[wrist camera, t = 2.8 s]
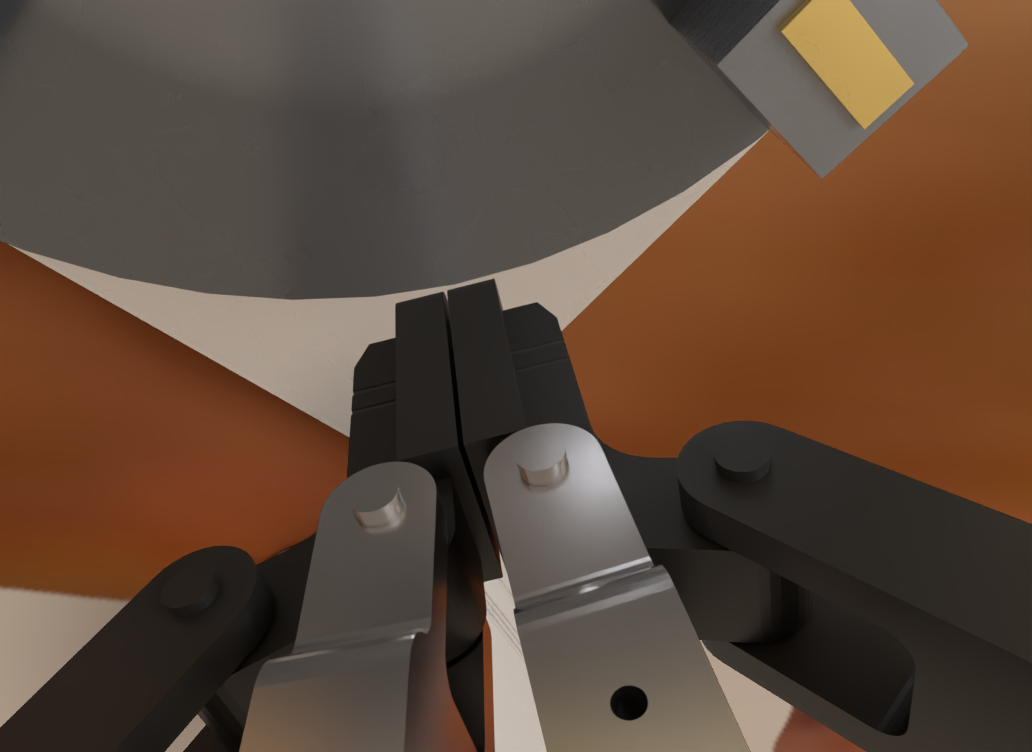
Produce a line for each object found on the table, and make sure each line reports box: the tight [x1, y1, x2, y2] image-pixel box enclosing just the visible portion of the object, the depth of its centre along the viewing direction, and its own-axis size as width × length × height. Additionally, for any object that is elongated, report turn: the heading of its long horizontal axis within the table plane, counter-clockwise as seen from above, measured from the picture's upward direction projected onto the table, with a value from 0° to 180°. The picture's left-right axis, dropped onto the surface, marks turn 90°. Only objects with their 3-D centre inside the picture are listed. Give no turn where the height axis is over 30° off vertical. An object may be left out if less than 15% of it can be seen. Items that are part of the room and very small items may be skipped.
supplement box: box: [277, 548, 547, 752], centre depth 24 cm, size 7×7×13 cm
